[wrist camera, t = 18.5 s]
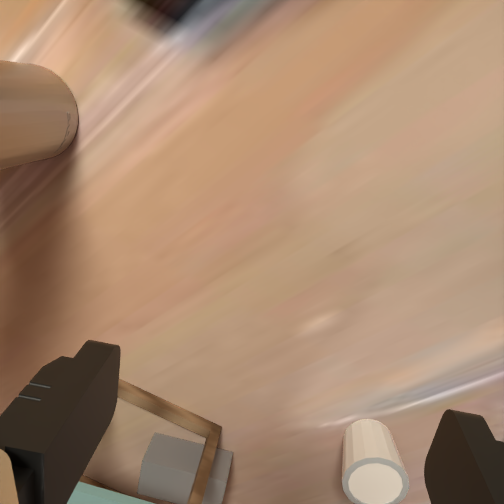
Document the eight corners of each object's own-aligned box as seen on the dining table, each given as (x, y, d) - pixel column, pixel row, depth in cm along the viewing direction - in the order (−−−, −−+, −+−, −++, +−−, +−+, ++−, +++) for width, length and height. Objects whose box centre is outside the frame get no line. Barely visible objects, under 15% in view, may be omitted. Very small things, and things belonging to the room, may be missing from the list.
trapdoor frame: (52, 468, 63) (-33, 593, 47) (94, 366, 57) (12, 469, 41) (168, 522, 63) (122, 662, 48) (221, 426, 57) (189, 550, 42)
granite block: (136, 493, 56) (219, 514, 56) (142, 460, 54) (226, 482, 54) (150, 462, 61) (226, 481, 60) (155, 431, 59) (233, 450, 59)
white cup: (379, 471, 57) (388, 520, 50) (327, 448, 57) (330, 494, 50) (408, 429, 55) (422, 475, 48) (355, 405, 54) (361, 447, 48)
